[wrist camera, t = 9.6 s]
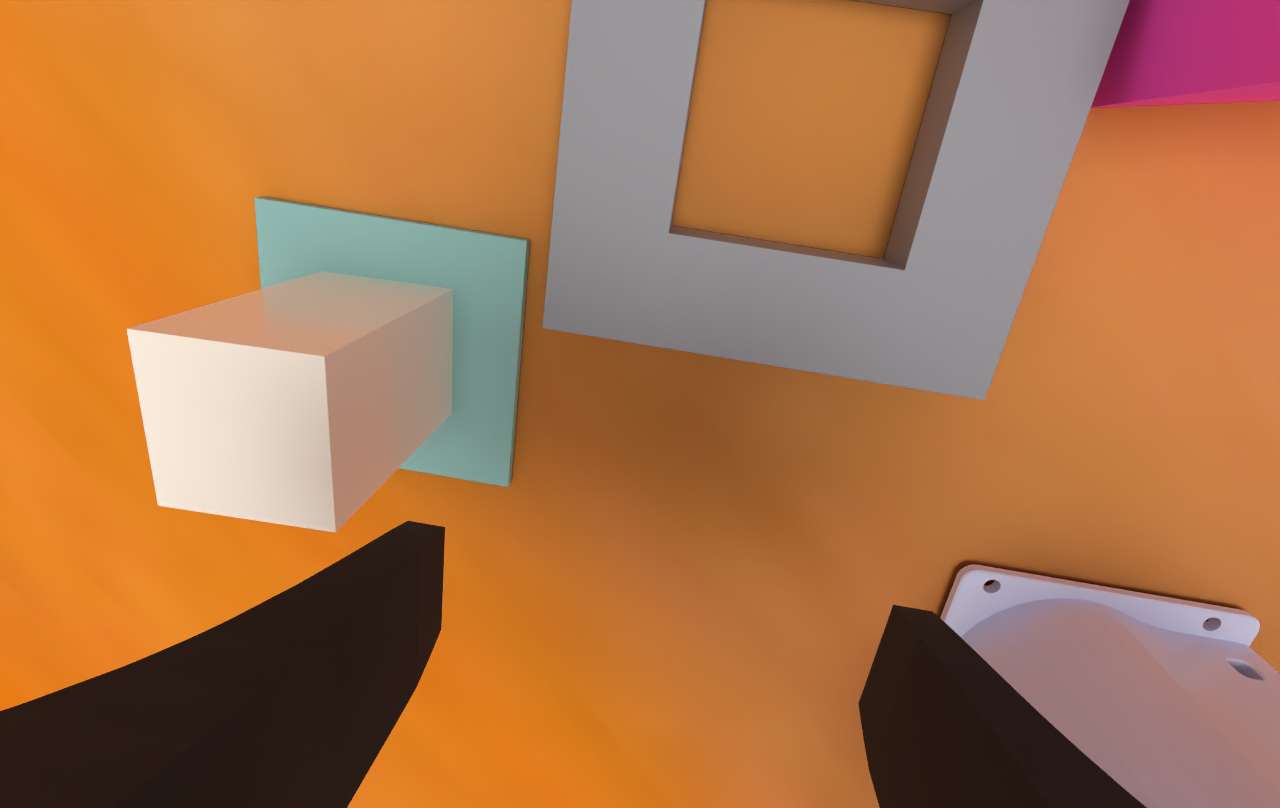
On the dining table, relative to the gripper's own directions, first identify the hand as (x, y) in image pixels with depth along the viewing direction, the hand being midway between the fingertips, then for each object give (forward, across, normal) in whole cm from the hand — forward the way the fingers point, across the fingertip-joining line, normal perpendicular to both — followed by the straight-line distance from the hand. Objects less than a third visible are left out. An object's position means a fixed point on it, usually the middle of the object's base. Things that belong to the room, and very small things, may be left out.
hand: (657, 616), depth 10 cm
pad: (+10, +9, 0) cm, 14 cm away
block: (+10, +9, 0) cm, 13 cm away
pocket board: (+10, -2, -8) cm, 13 cm away
